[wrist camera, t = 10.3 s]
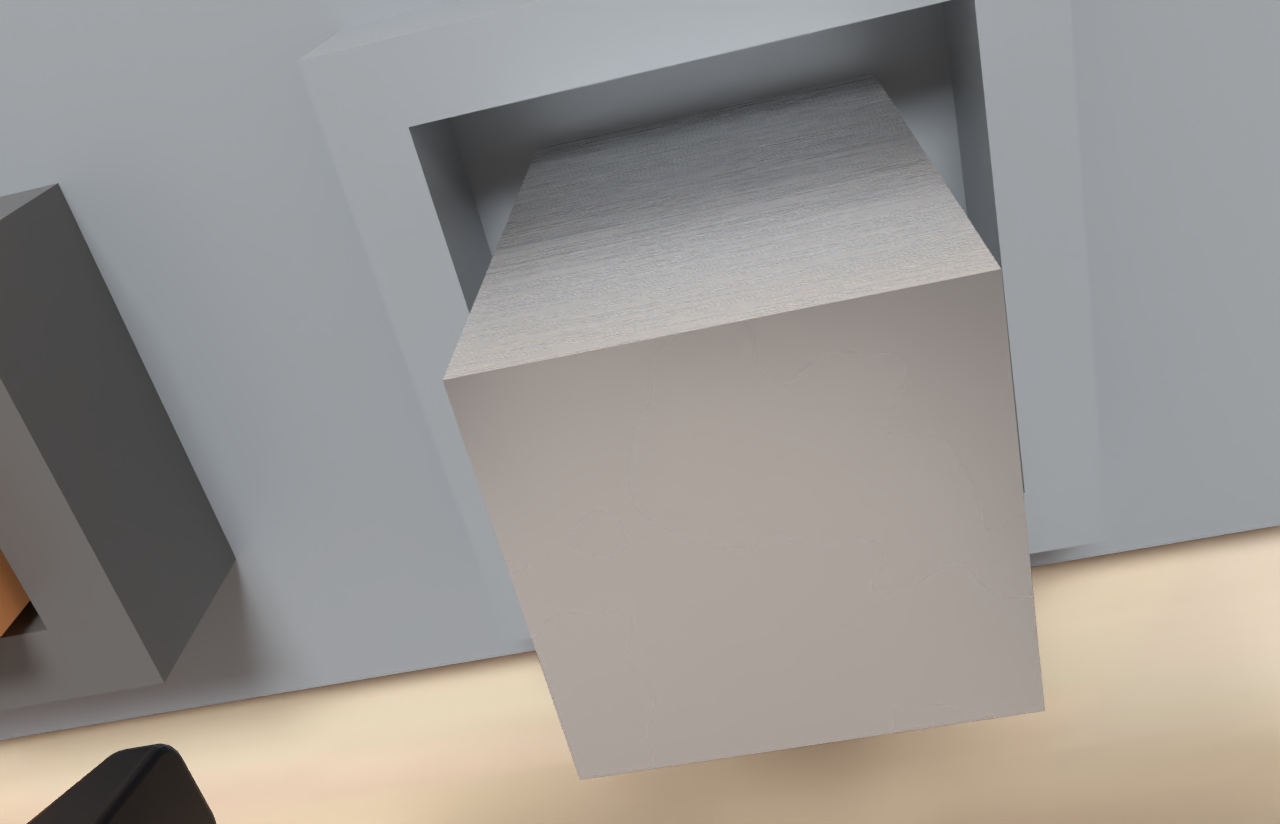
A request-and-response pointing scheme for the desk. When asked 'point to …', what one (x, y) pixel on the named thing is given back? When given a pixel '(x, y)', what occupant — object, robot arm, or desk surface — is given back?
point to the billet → (752, 436)
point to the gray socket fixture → (458, 261)
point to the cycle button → (10, 595)
